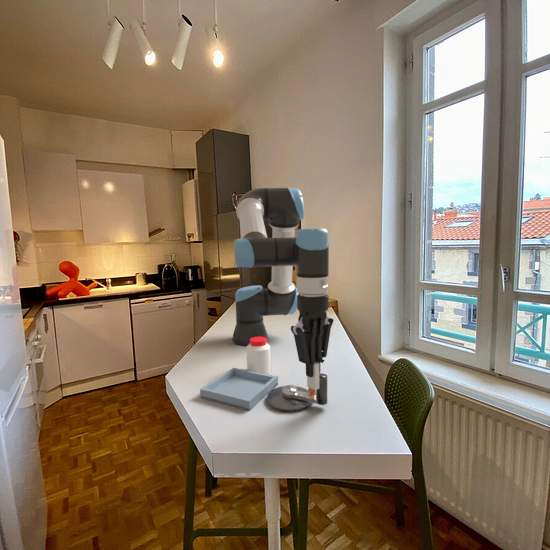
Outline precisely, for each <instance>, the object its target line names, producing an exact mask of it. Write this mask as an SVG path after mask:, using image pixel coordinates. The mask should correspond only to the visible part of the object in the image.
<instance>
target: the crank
mask: <svg viewBox="0 0 550 550" xmlns="http://www.w3.org/2000/svg"><path fill="white" fill-rule="evenodd" d="M283 386H284V387H282V386H281V387H282V396H283V397H284V398H287V399H292V398H295V399H299V400H303V401H308V402H312V404H317V405H320V406H325V405H327V404H328V375H327V373H321V372H320V374H319V389H317V390H316V395H315V394H310V393H306V392H301V391H297V387H296V385H292V384H291V385H290V384H286V385H283Z"/></svg>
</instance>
